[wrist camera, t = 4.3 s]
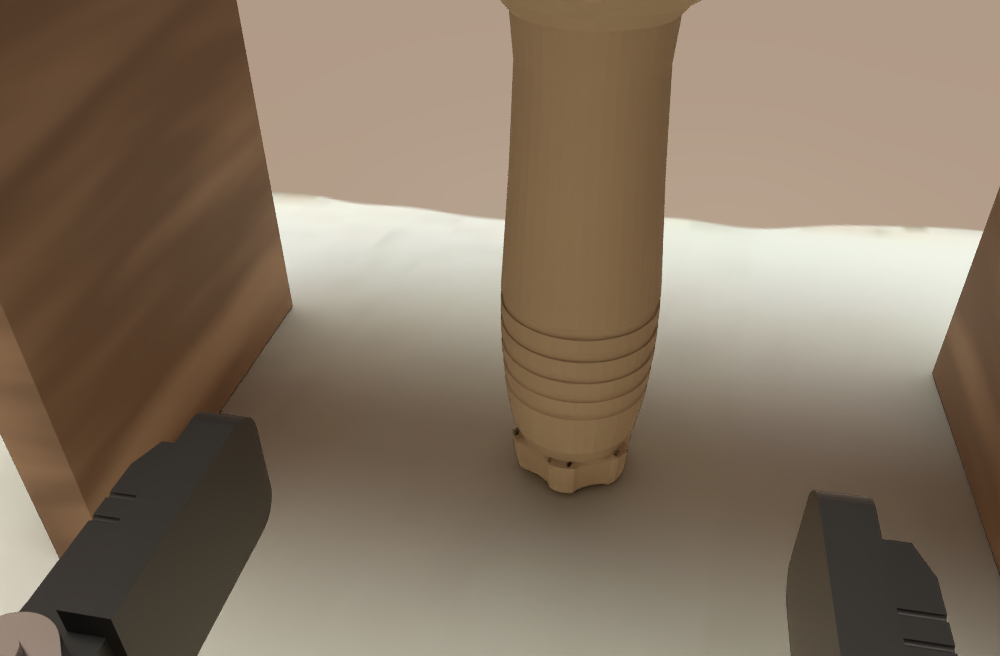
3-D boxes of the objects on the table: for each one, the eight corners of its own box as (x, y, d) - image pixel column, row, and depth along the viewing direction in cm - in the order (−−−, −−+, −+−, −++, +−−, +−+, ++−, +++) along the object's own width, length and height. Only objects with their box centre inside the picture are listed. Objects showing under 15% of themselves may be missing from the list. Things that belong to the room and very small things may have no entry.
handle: (487, 389, 28) (473, -141, 19) (691, 422, 26) (779, -134, 17) (440, 498, 24) (395, -101, 15) (675, 544, 22) (777, -86, 14)
